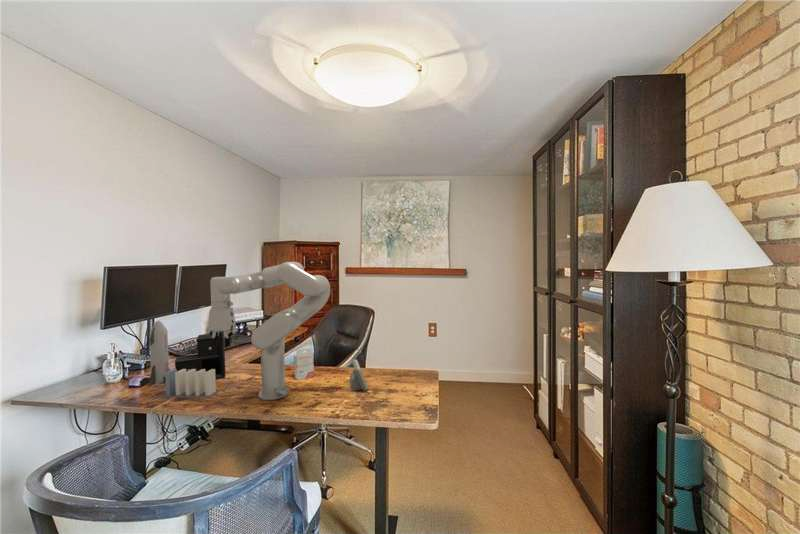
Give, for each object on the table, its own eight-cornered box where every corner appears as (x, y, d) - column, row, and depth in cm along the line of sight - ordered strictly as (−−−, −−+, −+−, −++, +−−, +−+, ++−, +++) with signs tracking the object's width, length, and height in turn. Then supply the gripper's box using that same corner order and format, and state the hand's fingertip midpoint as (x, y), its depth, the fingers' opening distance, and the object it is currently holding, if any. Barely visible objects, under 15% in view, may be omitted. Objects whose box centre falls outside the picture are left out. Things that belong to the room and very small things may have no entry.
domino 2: (187, 391, 159) (186, 368, 159) (179, 395, 154) (178, 372, 154) (183, 390, 159) (182, 368, 159) (175, 395, 154) (175, 372, 154)
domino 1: (177, 390, 160) (176, 368, 159) (169, 395, 155) (168, 372, 154) (174, 390, 160) (173, 368, 159) (166, 395, 155) (165, 372, 155)
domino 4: (206, 391, 159) (205, 369, 158) (199, 395, 154) (198, 372, 153) (202, 391, 159) (202, 369, 159) (195, 395, 154) (194, 372, 154)
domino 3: (196, 391, 159) (195, 369, 159) (189, 395, 154) (188, 372, 154) (193, 391, 159) (192, 369, 159) (185, 395, 154) (184, 372, 154)
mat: (222, 390, 161) (222, 389, 161) (209, 398, 151) (209, 397, 151) (174, 389, 162) (174, 388, 162) (158, 398, 152) (158, 397, 152)
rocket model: (156, 387, 166) (154, 323, 165) (141, 387, 166) (139, 323, 166) (176, 377, 180) (174, 318, 179) (163, 377, 180) (161, 318, 180)
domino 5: (215, 391, 158) (215, 369, 158) (209, 395, 153) (208, 372, 153) (212, 391, 158) (211, 369, 158) (205, 395, 154) (204, 372, 153)
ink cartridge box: (311, 374, 181) (310, 345, 181) (314, 376, 177) (313, 347, 176) (294, 377, 177) (293, 347, 176) (296, 380, 172) (296, 350, 172)
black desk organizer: (169, 386, 167) (168, 337, 166) (173, 379, 176) (172, 332, 176) (225, 379, 176) (223, 332, 175) (225, 372, 186) (224, 328, 185)
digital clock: (367, 392, 155) (367, 368, 155) (347, 393, 155) (346, 368, 155) (370, 379, 171) (369, 357, 171) (351, 380, 171) (350, 358, 171)
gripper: (243, 303, 158) (245, 344, 158) (207, 304, 159) (209, 344, 159) (234, 306, 150) (236, 349, 151) (197, 306, 151) (198, 349, 152)
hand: (222, 346), depth 155 cm, fingers open, 4 cm apart
